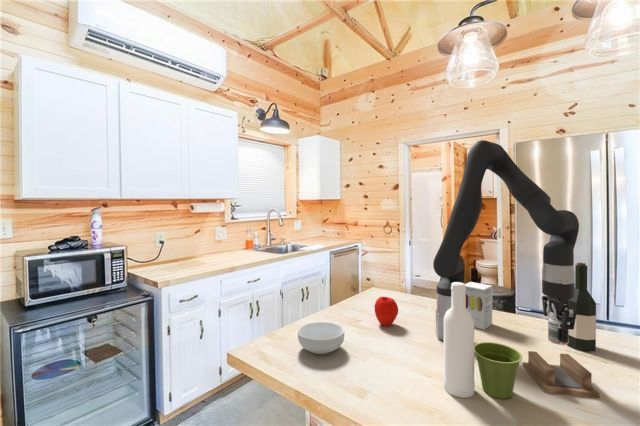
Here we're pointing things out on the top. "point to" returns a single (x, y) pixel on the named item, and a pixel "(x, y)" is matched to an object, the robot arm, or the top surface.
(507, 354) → the plant pot
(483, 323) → the supplement box
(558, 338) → the robot arm
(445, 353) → the bottle
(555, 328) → the pill bottle
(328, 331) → the cereal bowl
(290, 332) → the top surface
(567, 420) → the top surface
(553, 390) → the cradle
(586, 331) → the wine bottle
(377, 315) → the apple
